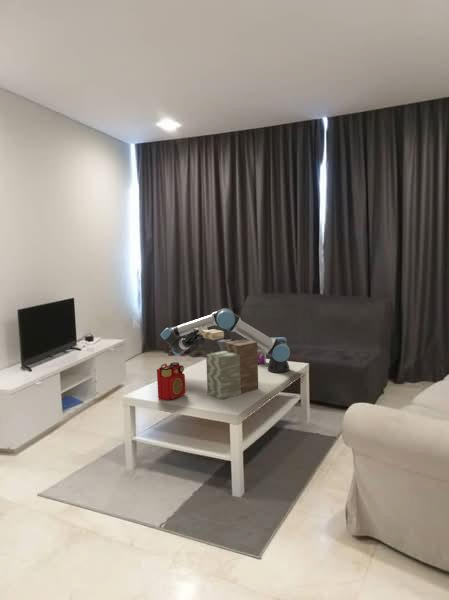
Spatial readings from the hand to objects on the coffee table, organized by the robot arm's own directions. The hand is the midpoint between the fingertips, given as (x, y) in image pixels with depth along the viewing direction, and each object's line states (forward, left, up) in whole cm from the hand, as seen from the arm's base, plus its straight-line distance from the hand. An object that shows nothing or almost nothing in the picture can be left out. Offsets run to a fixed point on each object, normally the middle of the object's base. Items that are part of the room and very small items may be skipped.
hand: (204, 328), depth 279 cm
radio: (+18, +17, -38) cm, 45 cm away
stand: (-17, +7, -38) cm, 42 cm away
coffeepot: (-4, -71, -38) cm, 80 cm away
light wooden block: (-2, +2, -5) cm, 5 cm away
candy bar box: (-29, -61, -38) cm, 77 cm away
